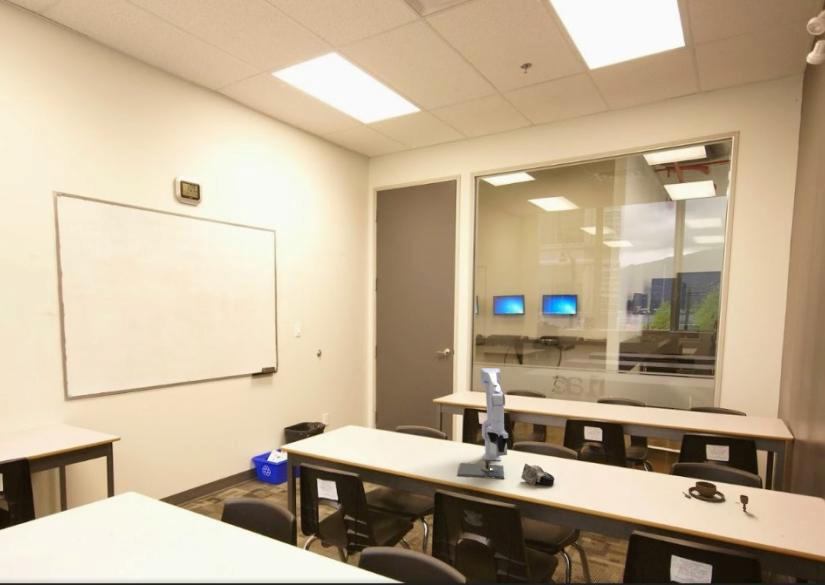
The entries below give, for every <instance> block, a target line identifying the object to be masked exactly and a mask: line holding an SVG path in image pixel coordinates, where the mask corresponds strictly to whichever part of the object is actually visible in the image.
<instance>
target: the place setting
mask: <svg viewBox="0 0 825 585" xmlns="http://www.w3.org/2000/svg"><path fill="white" fill-rule="evenodd" d="M694 490H696V492H697V493H698V494H699V495H697V494H696V493H693V492H695V491H694ZM687 491H688V493H689V494H690V495H689V494H687V493H686V492H684V491H682V493H683V494H684V496H685V497H686V498H691V497H693V496H694V497H693V498H695V499H698V500H701V499H702V500H701V501H705V500H706V501H705V502H711V501H712V502H715V503H716V502H717V503H718V502H722V501H724V499H725V495H724V493H723V492H721V491H719V490H717V485H715V484H714V483H712V482H708V481H700V480H699V481H696V482H695V486H690V487H688V490H687ZM716 495H717V496H719V497H720V498H713V497H714V496H716ZM739 500H740V503H741V504H742V512H745V513H746V512H747V507H746V506H747V505H748V504H749V496H747V495H745V494H740V495H739ZM712 502H711V503H712ZM734 503H735V504H739V502H734Z"/></svg>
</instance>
